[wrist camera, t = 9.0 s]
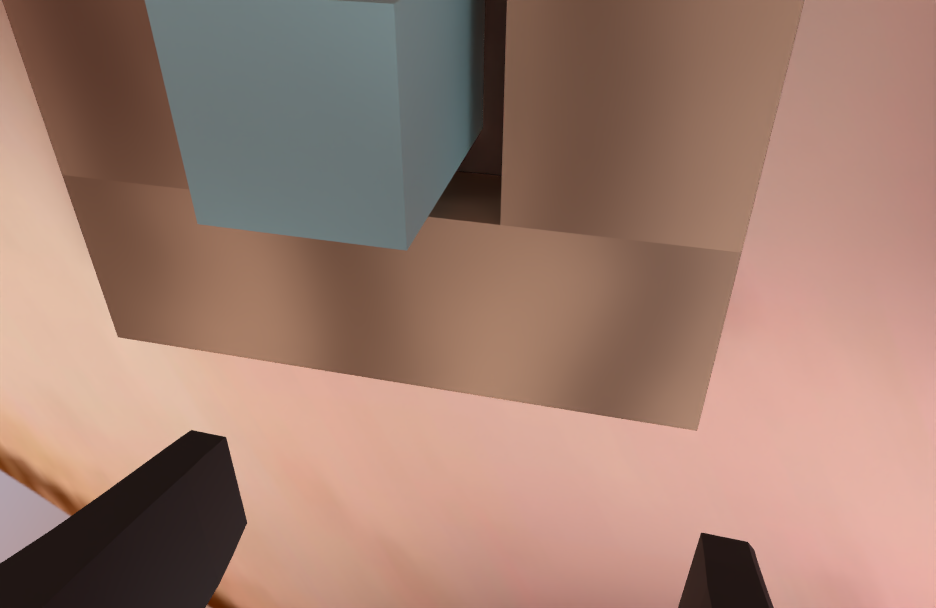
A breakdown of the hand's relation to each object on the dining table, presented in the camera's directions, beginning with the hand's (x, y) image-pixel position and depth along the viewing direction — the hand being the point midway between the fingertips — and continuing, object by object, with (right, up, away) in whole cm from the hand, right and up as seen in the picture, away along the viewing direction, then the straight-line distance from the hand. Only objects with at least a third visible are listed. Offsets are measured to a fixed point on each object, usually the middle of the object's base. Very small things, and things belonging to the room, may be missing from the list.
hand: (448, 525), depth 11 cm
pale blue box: (-1, +10, +6) cm, 11 cm away
